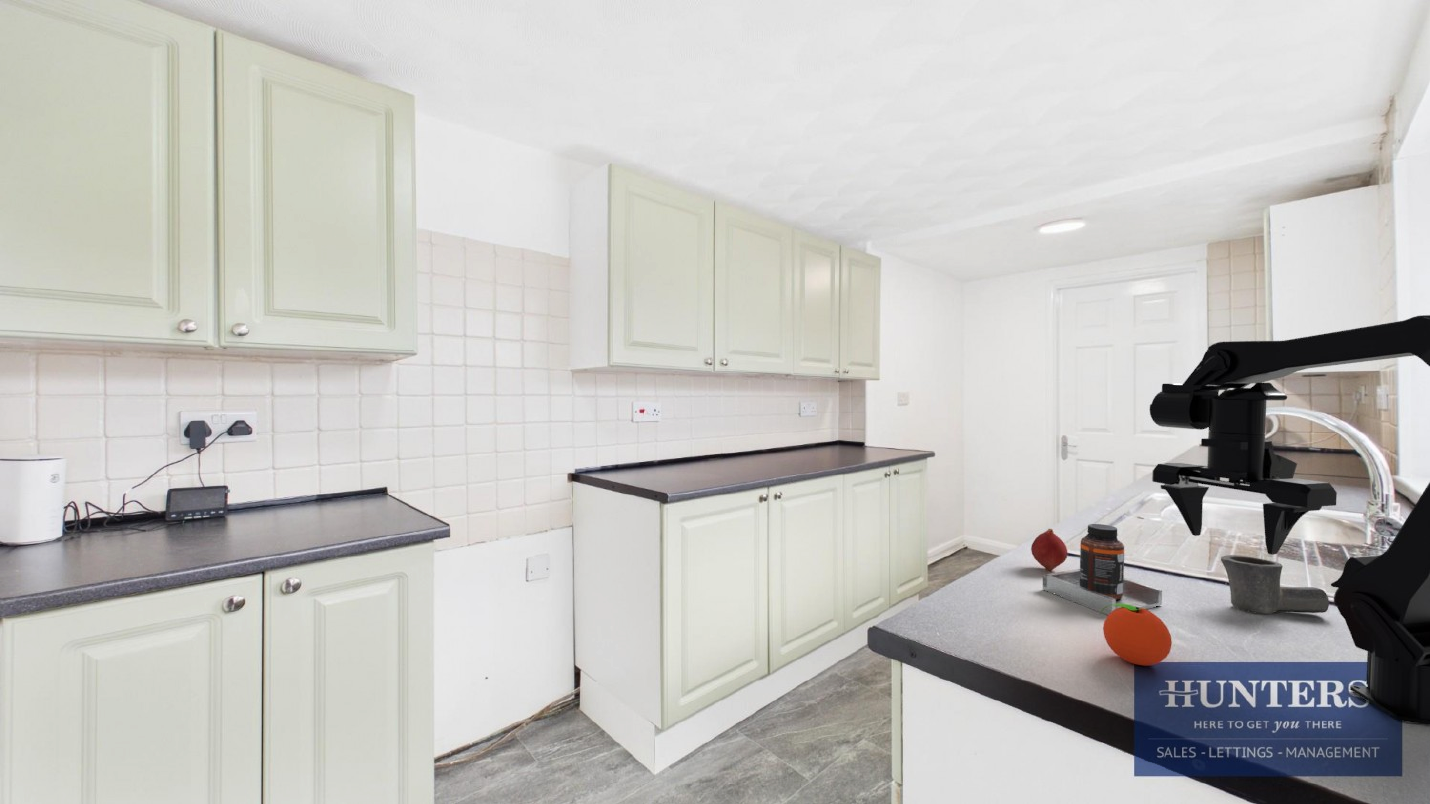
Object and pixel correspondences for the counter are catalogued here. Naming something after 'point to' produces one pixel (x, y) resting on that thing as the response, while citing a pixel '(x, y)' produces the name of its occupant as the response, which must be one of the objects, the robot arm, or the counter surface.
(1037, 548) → the onion
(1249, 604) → the pipe
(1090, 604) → the aluminium tray
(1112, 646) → the clementine
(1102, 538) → the supplement bottle
